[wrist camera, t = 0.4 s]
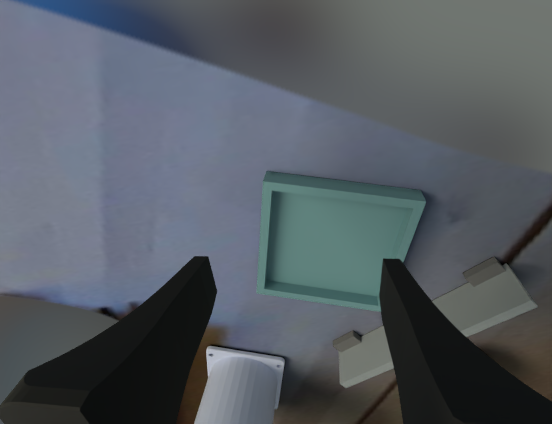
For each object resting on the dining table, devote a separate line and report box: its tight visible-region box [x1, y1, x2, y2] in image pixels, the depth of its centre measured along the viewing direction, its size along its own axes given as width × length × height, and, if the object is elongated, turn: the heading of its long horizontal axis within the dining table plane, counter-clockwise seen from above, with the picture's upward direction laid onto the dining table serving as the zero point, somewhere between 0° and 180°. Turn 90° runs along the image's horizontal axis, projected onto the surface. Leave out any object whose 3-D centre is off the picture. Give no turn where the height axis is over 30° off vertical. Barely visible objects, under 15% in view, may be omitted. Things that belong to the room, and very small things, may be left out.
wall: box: [333, 257, 538, 388], centre depth 26 cm, size 16×3×4 cm, turn 138°
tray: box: [257, 171, 426, 312], centre depth 24 cm, size 10×10×2 cm
